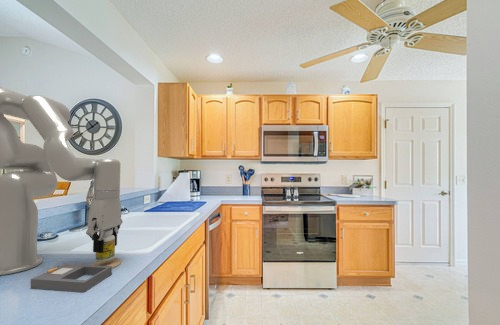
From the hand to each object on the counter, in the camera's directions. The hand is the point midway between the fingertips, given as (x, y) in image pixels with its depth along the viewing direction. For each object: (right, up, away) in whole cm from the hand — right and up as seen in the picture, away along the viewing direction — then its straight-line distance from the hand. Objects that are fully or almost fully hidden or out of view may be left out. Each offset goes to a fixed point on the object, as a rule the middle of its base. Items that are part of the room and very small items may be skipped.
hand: (105, 248), depth 76 cm
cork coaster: (0, -6, 0) cm, 6 cm away
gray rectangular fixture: (-2, -5, -11) cm, 12 cm away
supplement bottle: (0, -4, 0) cm, 4 cm away
